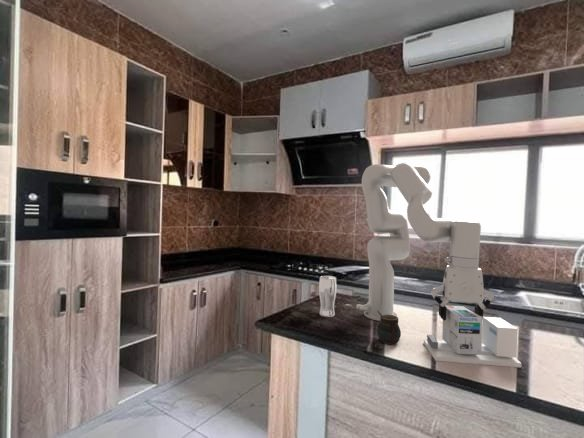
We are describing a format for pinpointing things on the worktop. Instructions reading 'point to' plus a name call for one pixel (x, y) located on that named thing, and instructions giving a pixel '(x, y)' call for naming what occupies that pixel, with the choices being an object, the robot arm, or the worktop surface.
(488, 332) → the mounted module
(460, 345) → the light bulb box
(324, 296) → the beer glass
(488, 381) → the worktop surface
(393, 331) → the mate gourd
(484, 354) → the mounting plate
